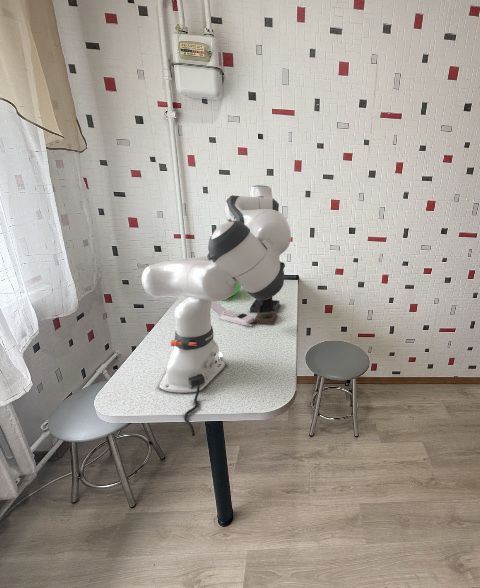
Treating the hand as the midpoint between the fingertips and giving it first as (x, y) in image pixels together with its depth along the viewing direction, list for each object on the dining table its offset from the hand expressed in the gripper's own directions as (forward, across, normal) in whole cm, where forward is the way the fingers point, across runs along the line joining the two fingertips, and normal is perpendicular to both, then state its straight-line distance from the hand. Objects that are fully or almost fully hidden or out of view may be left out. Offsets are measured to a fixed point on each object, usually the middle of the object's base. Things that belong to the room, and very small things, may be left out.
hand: (263, 263), depth 133 cm
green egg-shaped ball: (+30, -14, -44) cm, 55 cm away
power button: (+27, -7, -7) cm, 29 cm away
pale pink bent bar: (+30, +2, -19) cm, 36 cm away
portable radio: (+21, 0, 0) cm, 21 cm away
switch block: (+30, -8, -7) cm, 32 cm away
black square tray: (+30, -16, -16) cm, 38 cm away
